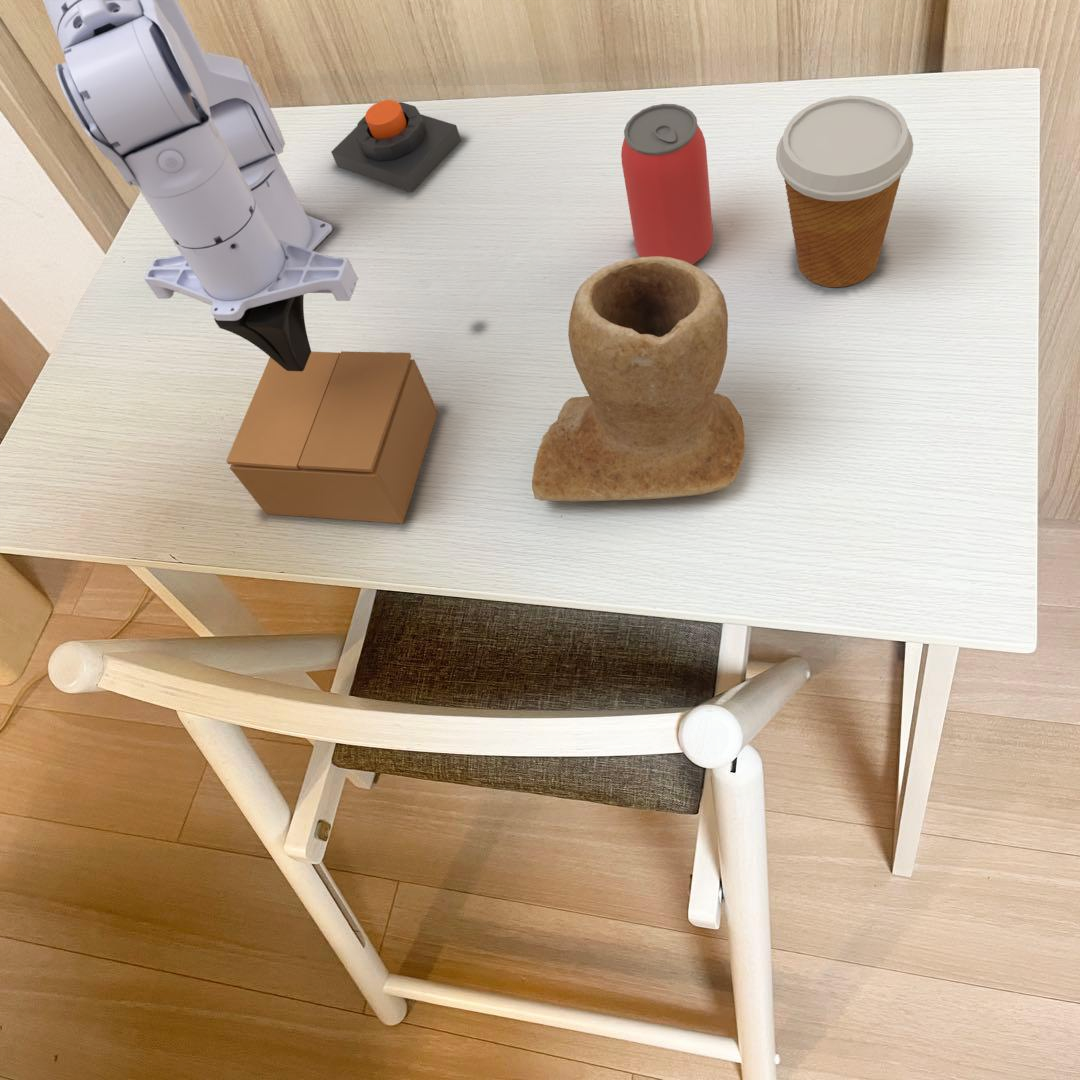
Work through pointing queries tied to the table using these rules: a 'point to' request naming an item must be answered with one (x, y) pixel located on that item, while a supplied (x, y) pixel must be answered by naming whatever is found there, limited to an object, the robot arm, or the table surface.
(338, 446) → the carton
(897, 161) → the disposable coffee cup
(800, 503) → the table surface
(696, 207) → the beer can
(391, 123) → the button
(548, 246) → the table surface
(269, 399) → the flap
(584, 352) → the stone cup
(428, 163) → the button box
